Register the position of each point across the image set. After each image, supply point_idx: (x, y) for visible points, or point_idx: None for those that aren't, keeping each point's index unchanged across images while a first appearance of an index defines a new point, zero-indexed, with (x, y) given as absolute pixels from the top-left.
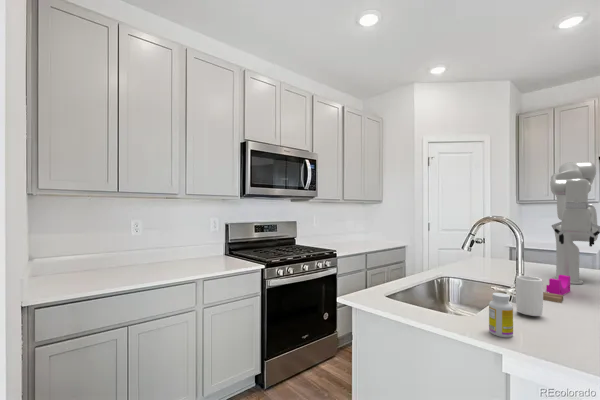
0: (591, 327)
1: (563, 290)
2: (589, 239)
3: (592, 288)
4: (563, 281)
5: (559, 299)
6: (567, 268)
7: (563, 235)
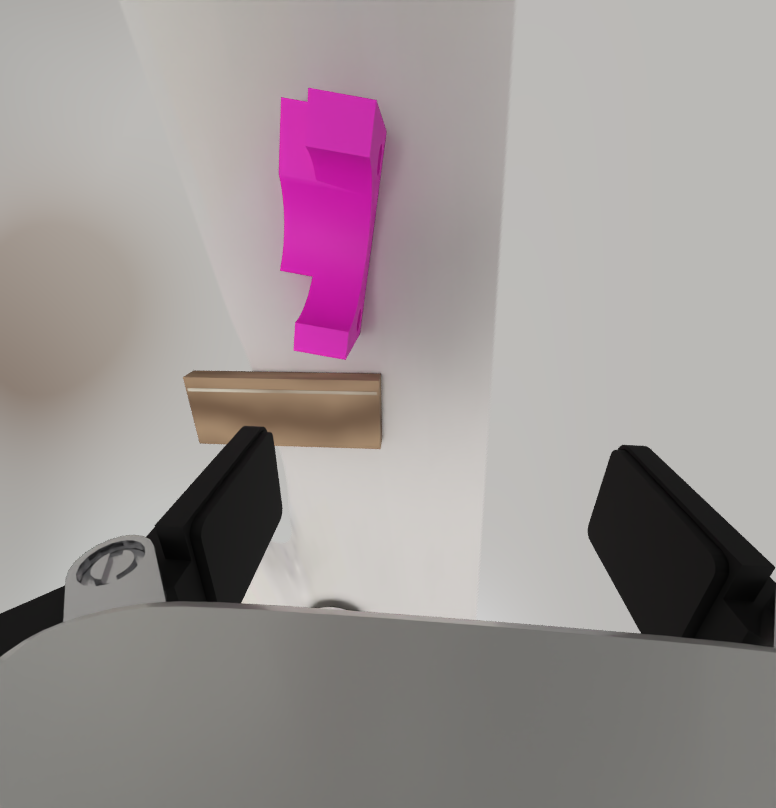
0: (470, 617)
1: (365, 271)
2: (641, 629)
3: None
4: (346, 175)
5: (375, 445)
6: None
7: (211, 569)
